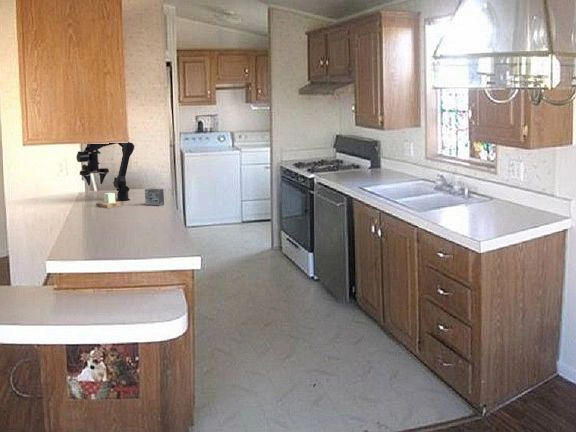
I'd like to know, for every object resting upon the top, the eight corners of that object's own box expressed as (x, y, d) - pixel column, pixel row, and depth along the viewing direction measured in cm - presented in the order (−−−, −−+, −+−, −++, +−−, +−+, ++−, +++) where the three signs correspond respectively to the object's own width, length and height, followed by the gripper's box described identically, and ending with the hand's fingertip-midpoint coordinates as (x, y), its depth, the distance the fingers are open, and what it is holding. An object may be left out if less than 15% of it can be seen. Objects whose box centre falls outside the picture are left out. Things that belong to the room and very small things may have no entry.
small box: (164, 204, 437) (164, 188, 435) (159, 206, 431) (159, 190, 429) (150, 204, 440) (149, 188, 438) (145, 205, 434) (144, 189, 432)
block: (110, 201, 439) (110, 192, 438) (115, 202, 435) (114, 193, 434) (104, 202, 435) (103, 193, 434) (108, 203, 432) (108, 194, 431)
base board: (112, 203, 444) (112, 200, 444) (123, 205, 436) (123, 202, 436) (96, 206, 435) (96, 203, 435) (107, 208, 427) (107, 204, 427)
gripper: (98, 159, 452) (100, 182, 455) (73, 161, 439) (75, 185, 441) (108, 159, 445) (110, 183, 448) (83, 162, 431) (85, 186, 434)
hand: (95, 184), depth 443 cm, fingers open, 9 cm apart
